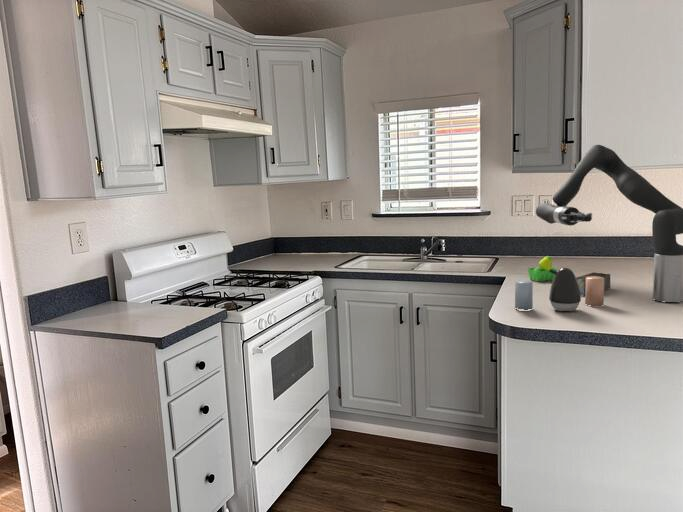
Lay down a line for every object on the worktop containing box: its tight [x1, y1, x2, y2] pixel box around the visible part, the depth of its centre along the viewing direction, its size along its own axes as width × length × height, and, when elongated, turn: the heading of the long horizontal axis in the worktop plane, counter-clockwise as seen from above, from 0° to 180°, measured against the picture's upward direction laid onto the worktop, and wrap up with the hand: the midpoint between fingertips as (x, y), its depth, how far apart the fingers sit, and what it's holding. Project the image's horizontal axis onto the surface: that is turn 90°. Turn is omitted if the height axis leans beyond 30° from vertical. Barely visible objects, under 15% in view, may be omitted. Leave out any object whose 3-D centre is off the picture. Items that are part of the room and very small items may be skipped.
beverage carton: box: [575, 271, 611, 296], centre depth 210 cm, size 8×19×7 cm, turn 124°
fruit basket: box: [526, 255, 559, 282], centre depth 234 cm, size 11×9×11 cm
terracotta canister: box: [584, 276, 605, 307], centre depth 188 cm, size 6×6×10 cm
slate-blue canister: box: [514, 279, 534, 310], centre depth 187 cm, size 6×6×10 cm
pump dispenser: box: [548, 267, 582, 312], centre depth 183 cm, size 10×10×15 cm
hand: (588, 218), depth 199 cm, fingers closed
